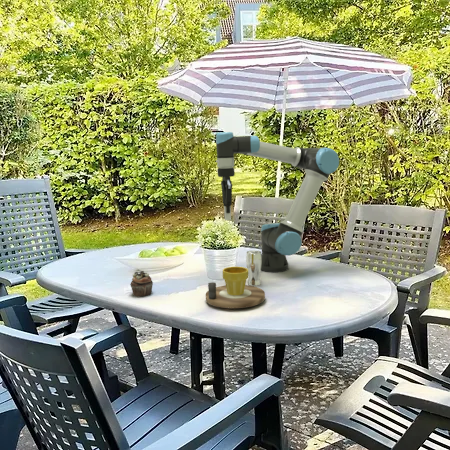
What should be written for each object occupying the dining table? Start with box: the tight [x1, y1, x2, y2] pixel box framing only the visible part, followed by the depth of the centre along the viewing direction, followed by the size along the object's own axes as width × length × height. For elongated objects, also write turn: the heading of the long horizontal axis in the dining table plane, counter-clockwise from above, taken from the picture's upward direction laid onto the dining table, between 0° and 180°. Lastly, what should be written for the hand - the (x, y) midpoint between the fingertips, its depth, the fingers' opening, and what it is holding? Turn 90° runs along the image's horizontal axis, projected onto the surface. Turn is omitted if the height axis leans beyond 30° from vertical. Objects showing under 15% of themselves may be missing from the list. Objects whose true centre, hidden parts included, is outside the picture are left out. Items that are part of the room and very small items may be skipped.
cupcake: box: [130, 270, 154, 298], centre depth 205 cm, size 10×10×10 cm
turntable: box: [205, 282, 266, 309], centre depth 192 cm, size 24×24×8 cm
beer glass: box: [245, 249, 262, 287], centre depth 214 cm, size 7×7×15 cm
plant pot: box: [222, 266, 248, 295], centre depth 192 cm, size 10×10×10 cm
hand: (227, 219), depth 215 cm, fingers closed
